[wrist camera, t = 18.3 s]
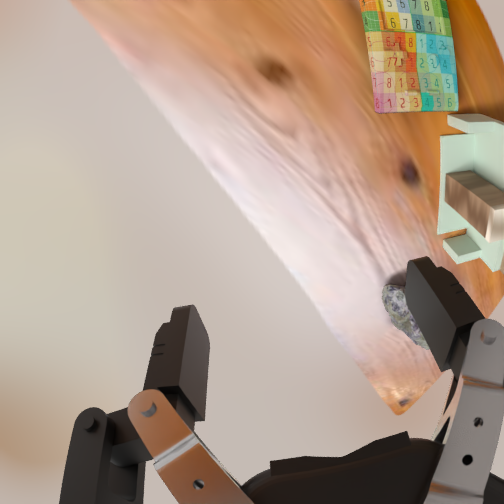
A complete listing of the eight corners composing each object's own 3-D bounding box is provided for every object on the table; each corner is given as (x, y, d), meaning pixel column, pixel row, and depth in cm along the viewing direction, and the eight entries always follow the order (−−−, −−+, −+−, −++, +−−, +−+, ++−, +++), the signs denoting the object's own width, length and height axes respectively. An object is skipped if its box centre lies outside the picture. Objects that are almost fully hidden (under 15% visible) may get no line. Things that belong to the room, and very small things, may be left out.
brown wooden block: (445, 173, 39) (495, 210, 29) (470, 169, 39) (521, 204, 29) (444, 201, 42) (489, 243, 32) (468, 197, 41) (514, 236, 31)
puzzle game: (382, 115, 32) (354, -47, 21) (367, 108, 36) (342, -37, 25) (461, 112, 31) (441, -34, 20) (442, 106, 35) (423, -28, 24)
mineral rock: (378, 277, 50) (400, 319, 41) (434, 261, 48) (462, 299, 40) (378, 329, 56) (395, 370, 48) (427, 314, 55) (448, 351, 47)
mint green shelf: (439, 115, 35) (484, 133, 27) (483, 113, 34) (529, 132, 26) (435, 248, 47) (465, 286, 38) (474, 238, 46) (506, 272, 37)
